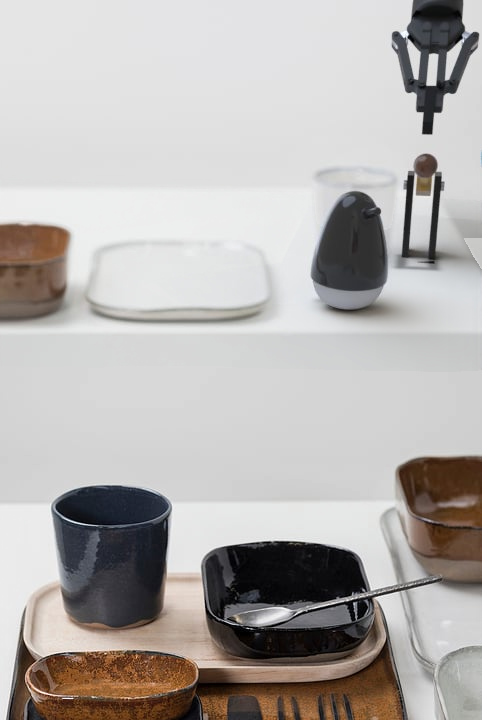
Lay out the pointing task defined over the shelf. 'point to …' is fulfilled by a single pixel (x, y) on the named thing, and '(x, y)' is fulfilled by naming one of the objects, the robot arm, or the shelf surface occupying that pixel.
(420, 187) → the ball knob lever
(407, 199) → the bracket
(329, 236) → the pump dispenser
